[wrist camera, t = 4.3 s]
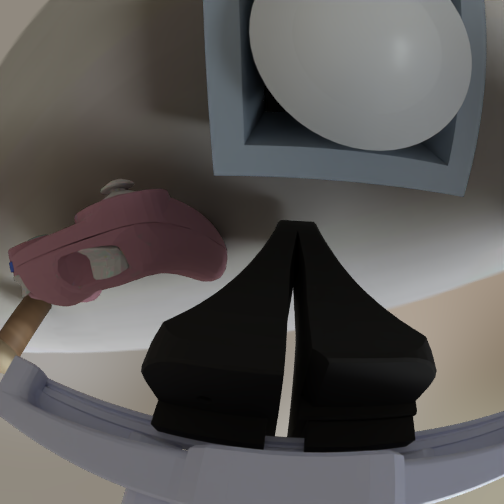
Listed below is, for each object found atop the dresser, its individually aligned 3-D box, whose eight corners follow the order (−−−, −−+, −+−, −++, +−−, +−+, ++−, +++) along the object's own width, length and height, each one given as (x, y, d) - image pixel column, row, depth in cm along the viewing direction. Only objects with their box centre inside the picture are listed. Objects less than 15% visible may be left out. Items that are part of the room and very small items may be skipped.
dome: (407, 2, 5) (481, -24, 2) (402, 124, 7) (469, 175, 4) (265, -15, 5) (240, -72, 2) (268, 111, 8) (248, 150, 4)
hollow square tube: (413, -6, 6) (479, -31, 2) (406, 143, 9) (463, 196, 6) (240, -23, 6) (202, -73, 3) (245, 130, 10) (214, 175, 6)
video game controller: (217, 171, 13) (106, 154, 6) (241, 269, 13) (153, 337, 7) (78, 225, 16) (-17, 244, 9) (97, 296, 16) (9, 336, 10)
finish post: (43, 288, 18) (-8, 363, 12) (58, 313, 20) (15, 385, 14) (24, 283, 18) (-24, 351, 12) (38, 307, 20) (-4, 373, 14)
